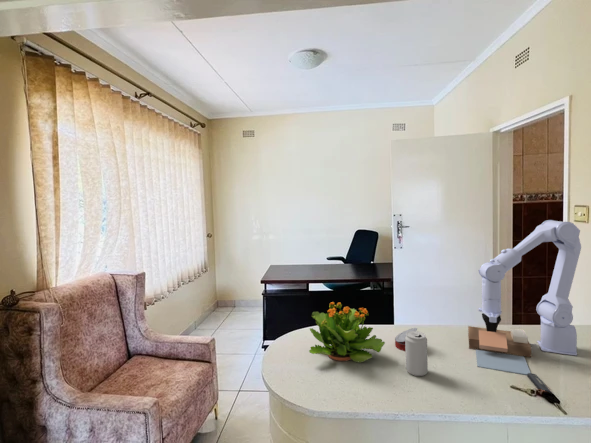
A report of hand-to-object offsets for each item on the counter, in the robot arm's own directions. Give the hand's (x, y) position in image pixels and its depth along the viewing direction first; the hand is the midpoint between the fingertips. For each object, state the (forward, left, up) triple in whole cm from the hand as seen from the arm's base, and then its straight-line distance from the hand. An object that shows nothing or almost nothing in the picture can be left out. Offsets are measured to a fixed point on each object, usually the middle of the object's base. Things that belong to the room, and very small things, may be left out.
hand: (491, 335), depth 116 cm
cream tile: (-9, -3, -1) cm, 9 cm away
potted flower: (+48, +24, -5) cm, 54 cm away
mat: (-2, +10, -4) cm, 11 cm away
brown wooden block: (-2, -3, -4) cm, 6 cm away
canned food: (+27, +9, -5) cm, 29 cm away
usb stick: (-10, +21, -5) cm, 24 cm away
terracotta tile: (0, +3, -1) cm, 4 cm away
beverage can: (+22, +26, -5) cm, 35 cm away
